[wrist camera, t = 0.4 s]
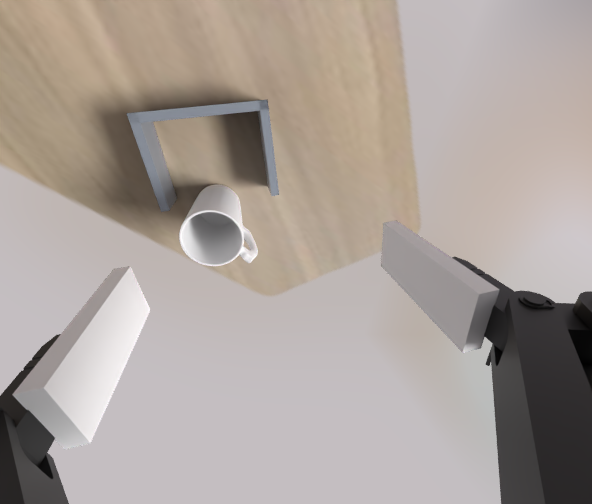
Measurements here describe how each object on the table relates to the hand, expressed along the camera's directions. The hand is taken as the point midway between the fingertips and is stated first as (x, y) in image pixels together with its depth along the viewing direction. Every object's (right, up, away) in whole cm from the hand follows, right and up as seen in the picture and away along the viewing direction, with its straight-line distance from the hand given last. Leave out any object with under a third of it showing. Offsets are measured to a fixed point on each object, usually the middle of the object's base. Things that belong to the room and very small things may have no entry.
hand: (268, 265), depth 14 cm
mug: (-9, +7, +26) cm, 29 cm away
